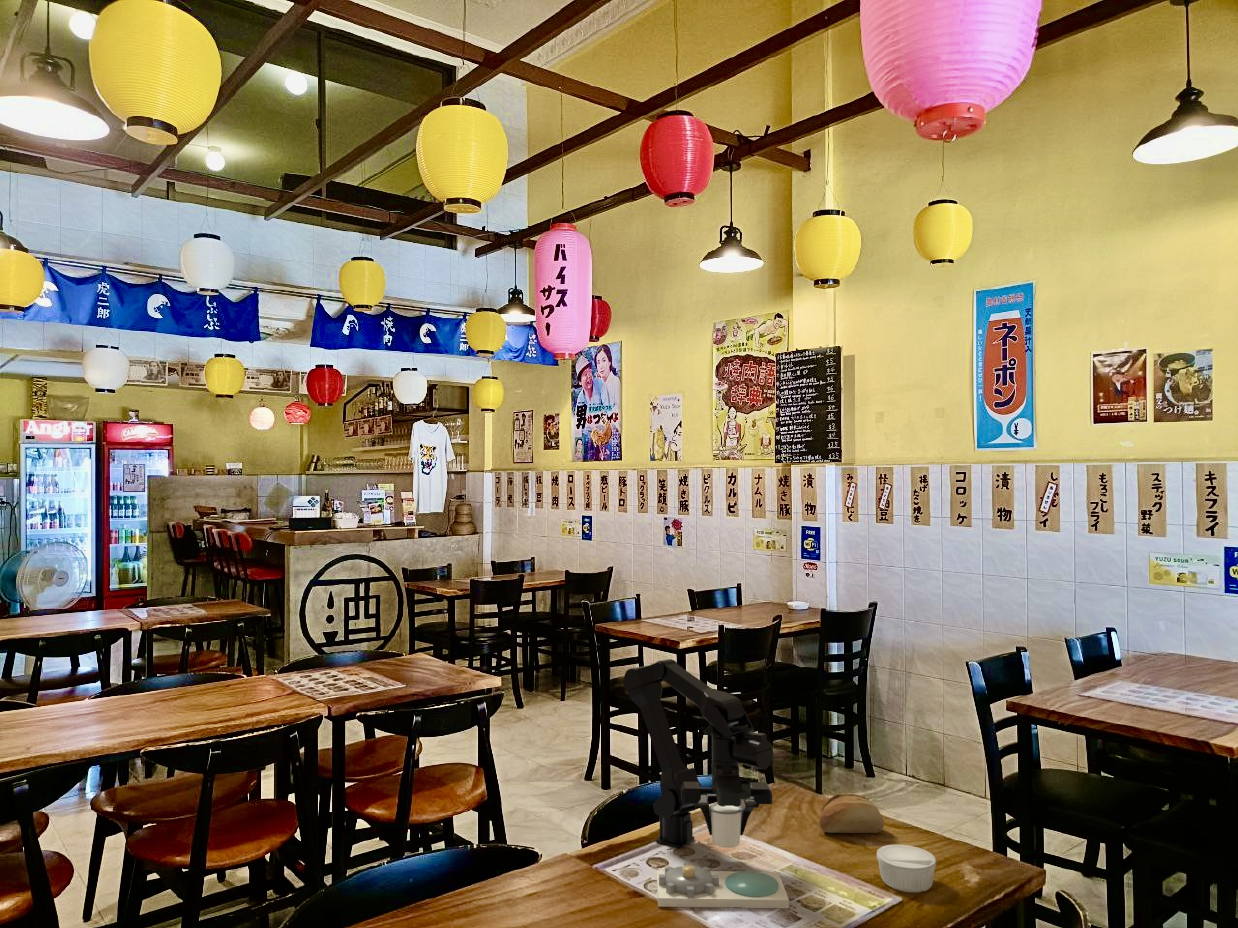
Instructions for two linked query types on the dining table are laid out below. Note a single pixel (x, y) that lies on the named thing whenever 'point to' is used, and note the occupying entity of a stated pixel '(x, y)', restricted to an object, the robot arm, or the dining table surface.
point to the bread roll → (850, 815)
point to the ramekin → (906, 867)
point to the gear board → (719, 888)
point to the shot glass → (726, 825)
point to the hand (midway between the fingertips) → (725, 834)
